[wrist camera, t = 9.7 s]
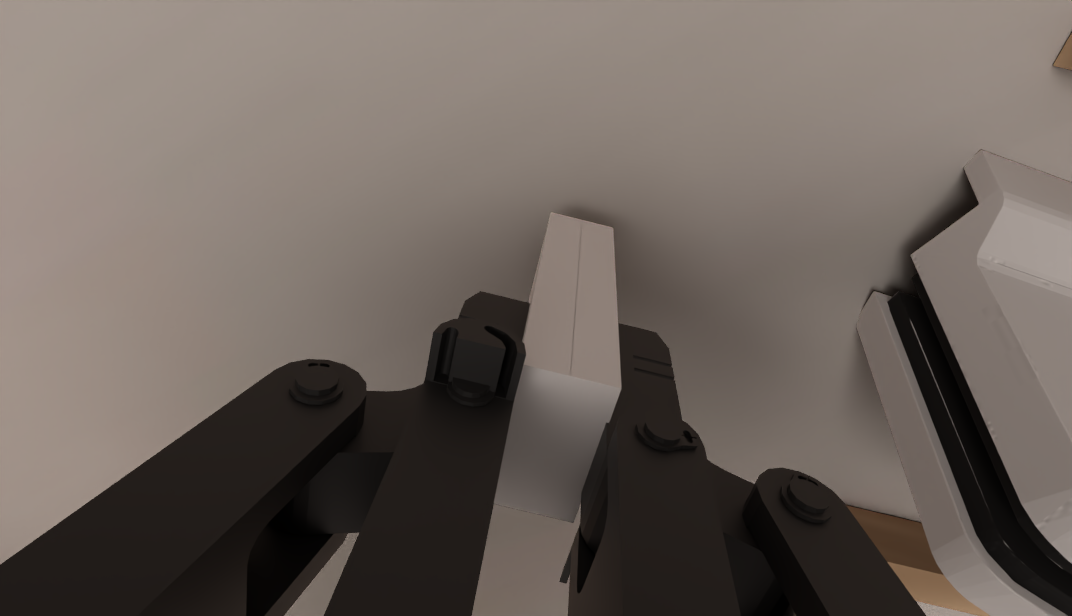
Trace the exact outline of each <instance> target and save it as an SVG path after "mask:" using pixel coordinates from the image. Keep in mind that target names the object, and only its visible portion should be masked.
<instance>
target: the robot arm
mask: <svg viewBox="0 0 1072 616" xmlns="http://www.w3.org/2000/svg"><path fill="white" fill-rule="evenodd" d="M671 366H672V363H671V357H670V352H669V348H668V347H667V346H666V344H665V343H664V342H663V341H662V339H661V338H660V337H659V336H658V334H657V333H656V332H652V331H648V330H644V329H640V328H636V327H631V326H627V325H623V324H619V323H618V310H617V290H616V271H615V251H614V232H613V227H609V226H605V225H601V224H597V223H593V222H589V221H585V220H581V219H577V218H573V217H569V216H565V215H561V214H557V213H553V212H551V213H550V217H549V221H548V225H547V229H546V233H545V237H544V241H543V245H542V249H541V253H540V257H539V261H538V265H537V269H536V273H535V277H534V281H533V285H532V289H531V293H530V296H529V300H528V303H526V302H522V301H518V300H514V299H510V298H506V297H502V296H498V295H494V294H490V293H486V292H481V291H480V292H479V293H477V294H475V295H474V296H472V297H471V298H469V299H467V300H466V301H465V303H464V305H463V308H462V310H461V312H460V315H459V317H458V319H453V320H450V321H448V322H445V323H442V324H441V325H440V326H439V327H438V328H437V329H436V330H435V331H434V332H433V338H432V343H431V349H430V355H429V360H428V366H427V372H426V377H425V381H424V383H423V384H422V385H419V386H417V387H415V388H411V389H407V390H402V391H387V392H385V391H366V382H365V381H364V380H363V378H362V377H361V376H360V374H359V373H358V372H356V371H355V370H353V369H351V368H350V367H348V366H346V365H344V364H341V363H337V362H333V361H330V360H315V359H307V360H302V361H296V362H291V363H288V364H286V365H284V366H282V367H280V368H278V369H276V370H274V371H273V372H271V373H270V374H268V375H267V376H266V377H264V378H263V379H261V380H260V381H259V382H257V383H256V384H254V385H253V386H252V387H250V388H249V389H247V390H246V391H244V392H243V393H242V394H240V395H239V396H237V397H236V398H235V399H233V400H232V401H230V402H229V403H228V404H226V405H225V406H223V407H222V408H221V409H219V410H218V411H216V412H215V413H213V414H212V415H211V416H209V417H208V418H206V419H205V420H204V421H202V422H201V423H199V424H198V425H197V426H195V427H194V428H192V429H191V430H189V431H188V432H187V433H185V434H184V435H182V436H181V437H180V438H178V439H177V440H175V441H174V442H173V443H171V444H170V445H168V446H167V447H166V448H164V449H163V450H161V451H160V452H158V453H157V454H156V455H154V456H153V457H151V458H150V459H149V460H147V461H146V462H144V463H143V464H142V465H140V466H139V467H137V468H136V469H134V470H133V471H132V472H130V473H129V474H127V475H126V476H125V477H123V478H122V479H120V480H119V481H118V482H116V483H115V484H113V485H112V486H111V487H109V488H108V489H106V490H105V491H103V492H102V493H101V494H99V495H98V496H96V497H95V498H94V499H92V500H91V501H89V502H88V503H87V504H85V505H84V506H82V507H81V508H79V509H78V510H77V511H75V512H74V513H72V514H71V515H70V516H68V517H67V518H65V519H64V520H63V521H61V522H60V523H58V524H57V525H56V526H54V527H53V528H51V529H50V530H48V531H47V532H46V533H44V534H43V535H41V536H40V537H39V538H37V539H36V540H34V541H33V542H32V543H30V544H29V545H27V546H26V547H24V548H23V549H22V550H20V551H19V552H17V553H16V554H15V555H13V556H12V557H10V558H9V559H8V560H6V561H5V562H3V563H2V564H1V565H0V616H284V615H285V613H286V612H287V611H288V610H289V608H290V607H291V606H292V605H293V603H294V602H295V601H296V600H297V599H298V597H299V596H300V595H301V594H302V592H303V591H304V590H305V589H306V588H307V586H308V585H309V584H310V583H311V581H312V580H313V579H314V578H315V576H316V575H317V574H318V573H319V572H320V570H321V569H322V568H323V567H324V565H325V564H326V563H327V562H328V560H329V559H330V558H331V557H332V556H333V554H334V553H335V552H336V551H337V549H338V548H339V547H340V546H341V545H342V543H343V542H344V540H345V538H346V536H347V534H348V533H358V532H360V533H359V535H358V537H357V540H356V542H355V544H354V547H353V549H352V551H351V554H350V556H349V558H348V561H347V563H346V565H345V568H344V570H343V572H342V575H341V577H340V579H339V582H338V584H337V586H336V589H335V591H334V593H333V596H332V598H331V600H330V603H329V605H328V607H327V610H326V612H325V614H324V616H471V615H472V610H473V605H474V600H475V595H476V590H477V585H478V580H479V575H480V570H481V565H482V560H483V555H484V550H485V544H486V539H487V534H488V529H489V524H490V519H491V514H492V509H493V504H496V505H500V506H505V507H509V508H513V509H517V510H521V511H526V512H530V513H534V514H538V515H542V516H547V517H551V518H555V519H559V520H563V521H568V522H572V523H573V522H574V520H575V517H576V514H577V511H578V509H579V506H580V503H581V519H580V525H579V528H578V531H577V534H576V536H575V539H574V542H573V545H572V547H571V550H570V553H569V556H568V558H567V561H566V564H565V566H564V569H563V572H562V575H561V578H560V582H563V583H567V580H568V578H569V575H570V586H569V604H568V616H926V615H925V613H924V612H923V611H922V609H921V608H920V606H919V605H918V604H917V602H916V601H915V600H914V598H913V597H912V595H911V594H910V593H909V591H908V590H907V589H906V587H905V586H904V584H903V583H902V582H901V580H900V579H899V578H898V576H897V575H896V573H895V572H894V571H893V569H892V568H891V566H890V565H889V564H888V562H887V561H886V560H885V558H884V557H883V555H882V554H881V553H880V551H879V550H878V549H877V547H876V546H875V544H874V543H873V542H872V540H871V539H870V538H869V536H868V535H867V533H866V532H865V531H864V529H863V528H862V527H861V525H860V524H859V522H858V521H857V520H856V518H855V517H854V515H853V514H852V513H851V511H850V510H849V509H848V507H847V506H846V505H845V503H844V502H843V501H842V500H841V499H840V498H839V497H838V496H837V495H836V494H835V493H834V492H833V491H832V490H831V489H829V488H828V487H826V486H825V485H824V484H822V483H821V482H819V481H818V480H817V479H815V478H813V477H811V476H808V475H806V474H804V473H801V472H799V471H795V470H790V469H785V468H774V469H768V470H766V471H765V472H763V473H762V474H761V475H759V477H758V479H757V481H756V483H755V484H753V483H751V482H748V481H746V480H744V479H742V478H740V477H738V476H736V475H733V474H731V473H729V472H727V471H725V470H723V469H722V468H720V467H718V466H716V465H714V464H713V463H711V462H710V461H709V460H707V457H706V453H705V448H704V445H703V443H702V441H701V439H700V437H699V435H698V434H697V433H696V432H695V431H694V430H693V429H692V428H691V427H690V426H689V425H688V424H687V423H685V422H684V421H682V417H681V412H680V406H679V401H678V395H677V390H676V384H675V381H674V374H673V368H672V367H671Z"/></svg>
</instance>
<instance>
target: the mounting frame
mask: <svg viewBox="0 0 1072 616" xmlns="http://www.w3.org/2000/svg"><path fill="white" fill-rule="evenodd" d="M1053 66H1056V67H1061V68H1065V69H1069V70H1072V33H1071V35H1070V37H1069V38H1068V40H1067V42H1066V44H1065V45H1064V47H1063V49H1062V51H1061V52H1060V54H1059V56H1058V58H1057V59H1056V61H1055V63H1054V65H1053ZM846 506H847V505H846ZM847 507H848V509H849V510H850V511H851V513H852V514H853V515H854V517H855V518H856V520H857V521H858V522H859V524H860V525H861V527H862V528H863V529H864V531H865V532H866V533H867V535H868V536H869V538H870V539H871V540H872V542H873V543H874V544H875V546H876V547H877V549H878V550H879V551H880V553H881V554H882V555H883V557H884V558H885V560H886V561H887V562H888V564H889V565H890V566H891V568H892V569H893V571H894V572H895V573H896V575H897V576H898V578H899V579H900V580H901V582H902V583H903V584H904V586H905V587H906V589H907V590H908V591H909V593H910V594H911V595H912V597H913V598H914V600H915V601H919V602H923V603H927V604H932V605H936V606H940V607H944V608H949V609H953V610H957V611H961V612H966V613H970V614H974V615H978V616H990V615H989V614H987V613H986V612H984V611H983V610H981V609H980V608H978V607H977V606H976V605H974V604H973V603H971V602H970V601H968V600H967V599H966V598H965V597H963V596H962V595H961V594H960V593H959V592H958V591H957V590H956V589H955V588H954V587H953V586H952V584H951V583H950V582H949V581H948V580H947V579H946V577H945V576H944V574H943V573H942V571H941V570H940V568H939V567H938V565H937V563H936V561H935V559H934V557H933V555H932V552H931V549H930V546H929V543H928V540H927V537H926V534H925V531H924V528H923V525H922V523H919V522H915V521H910V520H906V519H902V518H898V517H893V516H889V515H885V514H881V513H877V512H872V511H868V510H864V509H860V508H856V507H851V506H847Z"/></svg>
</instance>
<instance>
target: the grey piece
mask: <svg viewBox="0 0 1072 616" xmlns="http://www.w3.org/2000/svg"><path fill="white" fill-rule="evenodd" d="M964 170H965V173H966V175H967V177H968V180H969V182H970V184H971V186H972V189H973V191H974V193H975V196H976V198H977V200H978V203H979V204H978V206H976V207H975V208H974V209H972V210H971V211H970V212H968V213H967V214H966V215H964V216H963V217H962V218H960V219H959V220H957V221H956V222H955V223H953V224H952V225H951V226H949V227H948V228H947V229H945V230H944V231H942V232H941V233H940V234H938V235H937V236H936V237H934V238H933V239H932V240H930V241H929V242H927V243H926V244H925V245H923V246H922V247H921V248H919V249H918V250H917V251H915V252H914V253H913V254H911V255H910V256H911V258H912V260H913V263H914V265H915V267H916V269H917V271H918V273H917V274H916V275H915V276H914V277H913V278H912V281H913V283H914V285H915V287H916V290H917V292H918V294H919V297H920V298H917V297H914V296H911V295H909V294H906V293H903V292H900V291H899V292H897V293H896V294H895V295H894V296H893V297H891V296H888V295H885V294H882V293H879V292H876V291H874V292H873V293H872V295H871V296H870V298H869V300H868V301H867V303H866V304H865V306H864V307H863V309H862V311H861V313H860V316H859V319H858V321H857V324H856V327H857V330H858V333H859V336H860V339H861V342H862V345H863V348H864V351H865V354H866V357H867V360H868V363H869V366H870V369H871V372H872V375H873V378H874V381H875V384H876V387H877V390H878V393H879V396H880V399H881V402H882V405H883V408H884V411H885V414H886V417H887V420H888V423H889V426H890V429H891V432H892V435H893V438H894V441H895V444H896V447H897V450H898V453H899V456H900V459H901V462H902V465H903V468H904V471H905V474H906V477H907V480H908V483H909V486H910V489H911V492H912V495H913V498H914V501H915V504H916V507H917V510H918V513H919V516H920V519H921V522H922V525H923V528H924V531H925V534H926V537H927V540H928V543H929V546H930V549H931V552H932V555H933V557H934V559H935V561H936V563H937V565H938V567H939V568H940V570H941V571H942V573H943V574H944V576H945V577H946V579H947V580H948V581H949V582H950V583H951V584H952V586H953V587H954V588H955V589H956V590H957V591H958V592H959V593H960V594H961V595H962V596H963V597H965V598H966V599H967V600H968V601H970V602H971V603H973V604H974V605H976V606H977V607H978V608H980V609H981V610H983V611H984V612H986V613H987V614H989V615H990V616H1072V183H1071V182H1069V181H1066V180H1063V179H1061V178H1058V177H1055V176H1052V175H1050V174H1047V173H1044V172H1041V171H1039V170H1036V169H1033V168H1030V167H1028V166H1025V165H1022V164H1020V163H1017V162H1014V161H1011V160H1009V159H1006V158H1003V157H1000V156H998V155H995V154H992V153H989V152H987V151H984V150H980V151H979V152H978V153H976V154H975V155H974V156H973V158H972V159H971V160H970V161H969V162H968V163H967V164H966V165H965V167H964Z"/></svg>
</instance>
